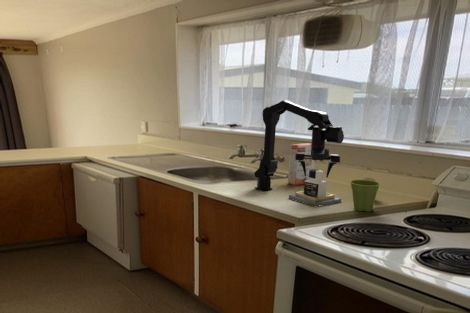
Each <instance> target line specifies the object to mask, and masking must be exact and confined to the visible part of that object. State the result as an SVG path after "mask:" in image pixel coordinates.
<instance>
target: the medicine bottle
mask: <svg viewBox="0 0 470 313" xmlns="http://www.w3.org/2000/svg"><path fill="white" fill-rule="evenodd" d="M327 184H328V183H327V181H326V180H324V171H323V170H321V169H318V168H317V169H315V168H314V169H313V170H310V171H309V180H306V181H304V184H303V191H304V194H306V195H309V196H312V197H321V196H326V193H327Z"/></svg>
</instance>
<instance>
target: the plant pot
mask: <svg viewBox="0 0 470 313" xmlns="http://www.w3.org/2000/svg"><path fill="white" fill-rule="evenodd" d="M375 181H376V180H375ZM375 181H370V180H362V179H352V180H350V181H349V183H350V187H351V193H352V201H353V208H354V209H353V210H356V211H359V212H363V211H365V212H367V213H368V212H371V211H373V209H374V205H375V202H376V201H375V200H376V197H377V194H378V191H379V188H380V186H381V183H380V181H379V182H378V181H376V182H375Z"/></svg>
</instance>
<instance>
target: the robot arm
mask: <svg viewBox="0 0 470 313" xmlns="http://www.w3.org/2000/svg"><path fill="white" fill-rule="evenodd" d="M285 112H289V113H292V114H294V115H297V116H299V117H302V118H304V119H305V120H307V122H309V124H311V125H310V126H309V127H307V130H308V131H311V143H310V144H311V155H306V154H305V153H303V152H297V153H296V156H295V160H298V162H301V164H302V167H303V170H304V174H305V176H306V166H305V159H312V160H314V161H320V162H324V161H328V163H327V164H328V165H327V169H326V173H325V174H326V175H325V176H326V178H328V177H329V176H330V172H331V170H332V168H333V166H335V165H337V164H338V163H339V164H340V162H341V156H340V155H339V154H336V153H330V149H329V148H326V142H327V143H332V144H343V141H344V138H345V134H344V131H343V127H342V126H333V124H332V122H331V120H330V118H329V117H330V116H329V115H328V113H327V112H325V111H320V110H312V109H309V108H306V107H304V106H302V105H299V104H296V103H294V102H292V101H290V100H284V99H283V100H281V101H279V102H278V103H274V104H273V105H270V106H266V107H264V108H263V110H262V121H263V123H264V127H265V128H264V144H263V156H262V158H261V159H260V161H259V166H258V169H256V171H254V172H253V175H254V177H255V178H257V179H256V180H257V181H256V183H257V184H256V186H254V189H255V190H258V191H262V192H265V191H271V190H273V188H272V187H271V184H272V182H271V181H272V180H271V177H273V176H274V175H275V173H276V172H277V169H279V168H278V162H279V160H278V159H276V158H275V143H276V129H277V125H278V123H279V121H280V118H281V115H282V114H284V113H285Z"/></svg>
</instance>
